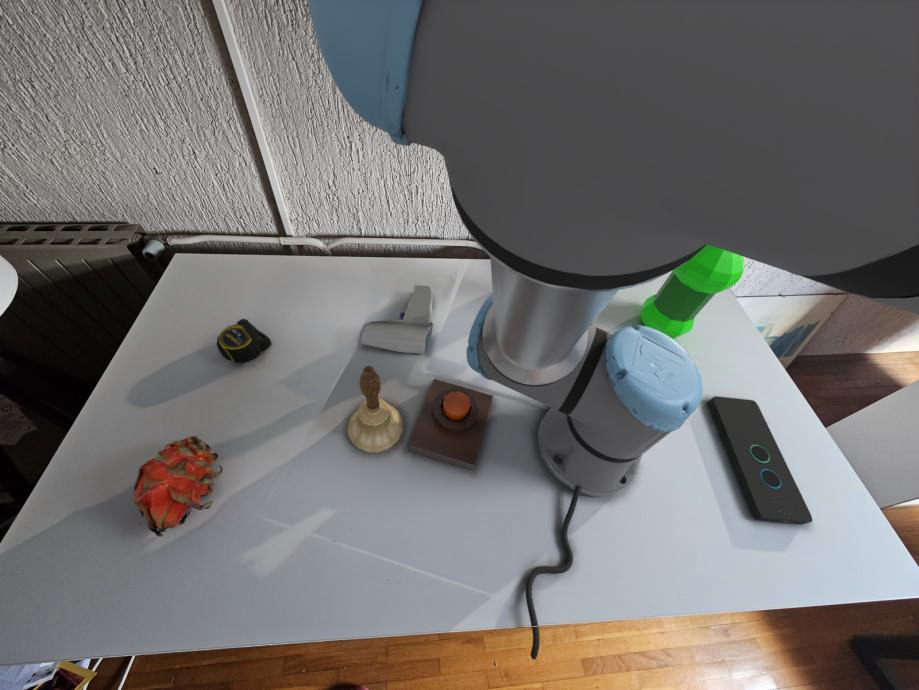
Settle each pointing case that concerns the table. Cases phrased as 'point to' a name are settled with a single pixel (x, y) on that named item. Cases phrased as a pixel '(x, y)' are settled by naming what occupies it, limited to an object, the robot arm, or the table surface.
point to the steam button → (456, 406)
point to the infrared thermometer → (404, 326)
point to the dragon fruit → (175, 483)
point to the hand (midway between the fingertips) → (567, 279)
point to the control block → (451, 427)
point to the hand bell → (374, 418)
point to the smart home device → (758, 462)
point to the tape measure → (242, 342)
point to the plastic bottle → (691, 290)
